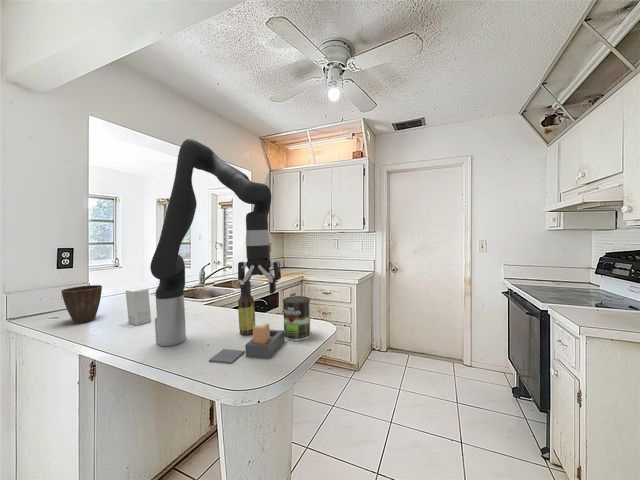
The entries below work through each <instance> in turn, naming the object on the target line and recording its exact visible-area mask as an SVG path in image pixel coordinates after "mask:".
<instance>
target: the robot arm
mask: <svg viewBox="0 0 640 480" xmlns="http://www.w3.org/2000/svg"><path fill="white" fill-rule="evenodd" d="M176 160H177V161H176V169H175V175H174V180H173V184H172V185H173V186H172V189H171V193H170V197H169V201H168V204H167V207H166V212H165V216H164V220H163V225H162V229H161V232H160V236H159V241H158V244H157V245H156V247H155V248H156V249H155V251H154V253H153V256H152V258H151V262H150V267H149V269H150V272H151V275H152V276H153V277H154V278H155V279H157V280H159V284H158V286H157V288H156V290H155V306H156V309H155V310H156V317H155V318H154V330H155V345H158V346H160V347H171V346H177V345H179V344H182V343H184V342H185V341H186V340H187V333H186V332H187V331H186V328H187V327H186V313H185V312H186V311H185V294H184V293H185V292H184V291H185V287H186V266H185V265H186V264H185V261H184V257H183V256H181V255H180V254H179V253H180V248H181V245H182V242H183V240H184V239H185V237H186V235H187V233H188V232H189V230H190V228H191V226H192V224H193V221H194V218H195V214H196V211H197V198H196V193H195V191H194V186H193V182H192V181H193V180H192V179H193V173H194V169H196V170H200V171H204V172H206V173H209V174H211V175H213V176H215V177H216V179H217V180H218V181H219V183H221V184H222V185H223V186H224V187H226V188H228V189H229V190H230V191H232V192H233V193H234V194H235V196H237V198H238V199H239V200H241V201H242V202H243V203H246V204H249V205H254V206H253V209H252V211H250V212H248V213H246V216H245V226H246V227H245V230H246V231H245V233H246V234H245V245H246V246H245V250H246V262H245V261H239V262H237V263H238V264H237V280H238V281H242V283H244V291H245V292H246V293H250V292H251V290H252V288H251V285H250V284H251V281H250V280H251V278H252V277H253V276H264V278H266V279H268V281H269V294H270V295H273V294H274V293H275V292H276V291H277V290H276V288H277V287H276V285H277V281H279V280H281V279H282V273H281V263H280V261H278V260H277V261H271V248H270V246H271V245H270V234H269V221H268V218H269V213H270V209H271V205H272V204H271V203H272V192H271V189H270V187H269V186H268V185H267V184H265V183H260V182H255V181H252V180H250V178H249V176H248V175H247V174H245V173H244V172H242V171H240V169H238V168H236V167H234V166H232V165H230V164H228V163H227V162H225V160H223V159H222V158H220V156H218V155H217V154H216V153H215V152H214V151H213V149H211V148H210V147H209V146H207V145H206V144H203V143H201V142H199V141H197V140H196V139H193V138H186V139H185V140H184V141H183V142H182V143H181V145H180V148H179V150H178V155H177V159H176ZM246 268H247V269H248V270H247V272H246ZM270 268H272V269H273V272H272V271H271V269H270Z"/></svg>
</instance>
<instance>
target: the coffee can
mask: <svg viewBox="0 0 640 480" xmlns="http://www.w3.org/2000/svg"><path fill="white" fill-rule="evenodd" d="M310 301H311V299H310V297H308V296H303V295H301V296H300V295H293V296H289V297H284V298H283V299H282V307H283V308H282V309H283V330H284V337H285V339H286V340H287V341H293V342H297V341H298V342H299V341H304V340H307V339H309V338H311V336H312V335H311V309H310V308H311V304H310Z"/></svg>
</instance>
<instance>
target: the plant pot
mask: <svg viewBox="0 0 640 480" xmlns="http://www.w3.org/2000/svg"><path fill="white" fill-rule="evenodd" d="M102 288H103V285H100V284H92V285H91V284H89V285H82V286H74V287H68V288H65V289H62V290H61V291H60V292H61V296H62V299H63V303H64V305H65V307H66V308H65V309H66V310H67V312H68V315H69V316H70V318H71V320H72V322H73V323H74V324H77V323H78V324H85V323H89V322H92V321H94V320H95V319H96V317H97V313H98V310H99V306H100V303H101V297H102V290H103V289H102Z"/></svg>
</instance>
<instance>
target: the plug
mask: <svg viewBox="0 0 640 480" xmlns="http://www.w3.org/2000/svg"><path fill="white" fill-rule="evenodd" d="M270 330H271V328H270V324H268V322H257V323H255V327H253V333H252V337H253V338H252V339H253V342H254V344H266V343H267V342H268V341H269V340H270Z"/></svg>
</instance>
